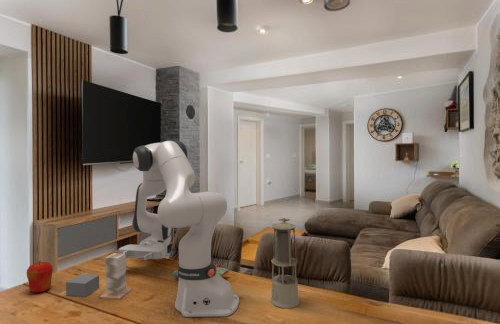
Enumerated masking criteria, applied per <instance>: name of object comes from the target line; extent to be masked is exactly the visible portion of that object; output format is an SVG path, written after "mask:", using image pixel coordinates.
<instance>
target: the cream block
mask: <svg viewBox="0 0 500 324" xmlns="http://www.w3.org/2000/svg"><path fill="white" fill-rule="evenodd" d="M104 259H105V293H106V295H113V296H119V295H120V294H122V293H123V292H124V291H126V288H127V269H126V268H127V266H126V265H127V264H126V263H127V261H126V259H127V257H126V256H125V254H118V253H114V252H113V253H111V254H109V255H108V256H106V257H105V258H104Z"/></svg>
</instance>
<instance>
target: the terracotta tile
mask: <svg viewBox="0 0 500 324" xmlns="http://www.w3.org/2000/svg"><path fill="white" fill-rule="evenodd" d="M132 290H133V289H132V288H128V287H126V291H124V292H123V293H122V294H120V295H119V296H113V295H106V292H104V293H103V294H101V295H100V296H99V299H104V300H105V299H106V300H119V301H120V300H122V299H123V298H124V297H125V296H127V295H128V294H129V293H131V292H132Z"/></svg>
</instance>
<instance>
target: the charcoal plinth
mask: <svg viewBox="0 0 500 324" xmlns="http://www.w3.org/2000/svg"><path fill="white" fill-rule="evenodd" d="M99 288H100V275H99V274H89V273H88V274H86V273H80V274H78V275H76V276H75V277H73V278H71V279H69V280H68V281H66V282H65V293H66V294H65V296H68V297H72V296H73V297H82V298H86V297H87V296H89V295H91V294H92V293H93V292H95V291H97V290H98V289H99Z"/></svg>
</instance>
